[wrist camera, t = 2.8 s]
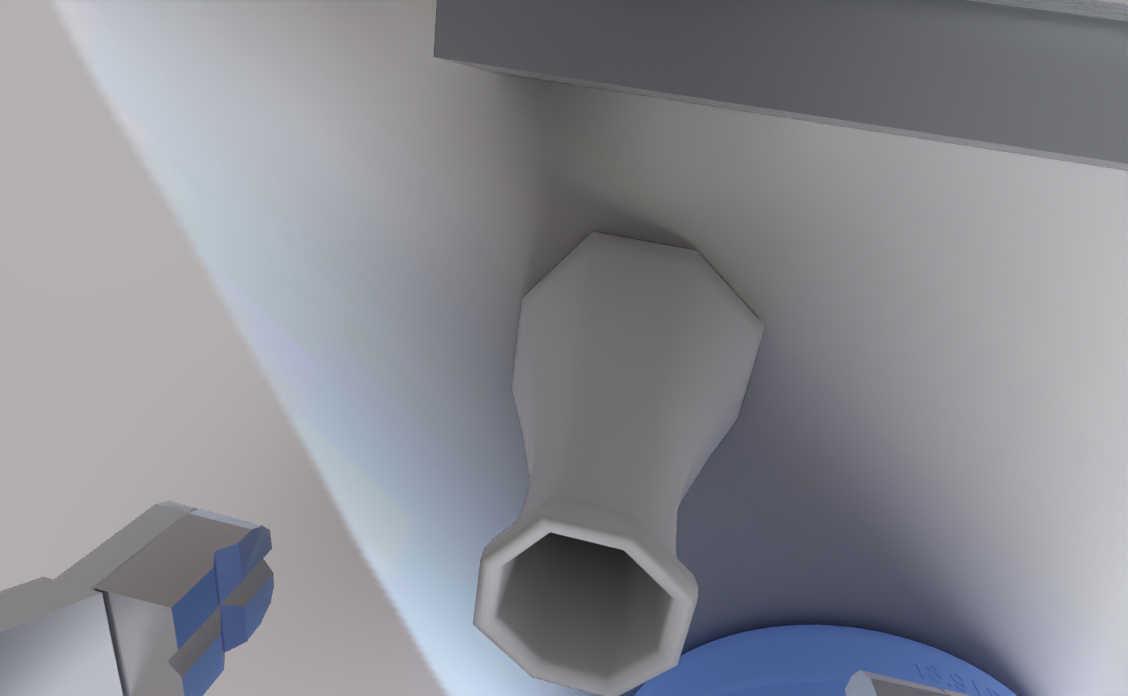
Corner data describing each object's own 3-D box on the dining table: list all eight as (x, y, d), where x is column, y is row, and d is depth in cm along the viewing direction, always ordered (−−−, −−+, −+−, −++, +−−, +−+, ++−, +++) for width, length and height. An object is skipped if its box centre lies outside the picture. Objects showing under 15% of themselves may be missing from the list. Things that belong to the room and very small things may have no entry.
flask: (674, 497, 19) (670, 850, 10) (477, 390, 19) (287, 646, 10) (811, 312, 16) (986, 569, 7) (579, 184, 16) (447, 273, 7)
